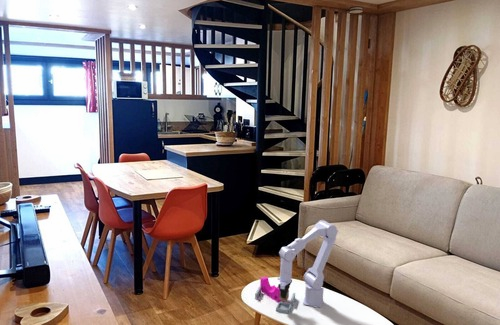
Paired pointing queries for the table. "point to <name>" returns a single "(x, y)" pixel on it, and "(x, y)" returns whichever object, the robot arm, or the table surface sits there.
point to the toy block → (270, 289)
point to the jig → (281, 306)
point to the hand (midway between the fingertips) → (284, 295)
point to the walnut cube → (284, 298)
